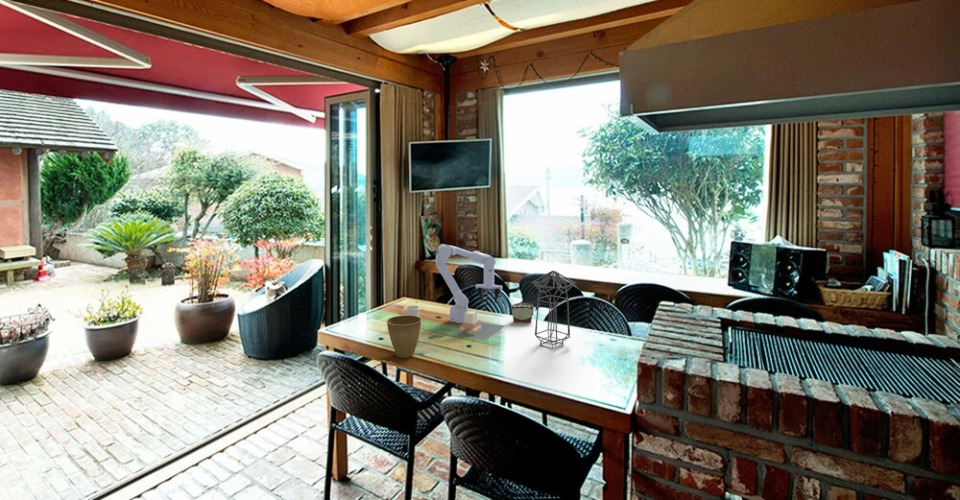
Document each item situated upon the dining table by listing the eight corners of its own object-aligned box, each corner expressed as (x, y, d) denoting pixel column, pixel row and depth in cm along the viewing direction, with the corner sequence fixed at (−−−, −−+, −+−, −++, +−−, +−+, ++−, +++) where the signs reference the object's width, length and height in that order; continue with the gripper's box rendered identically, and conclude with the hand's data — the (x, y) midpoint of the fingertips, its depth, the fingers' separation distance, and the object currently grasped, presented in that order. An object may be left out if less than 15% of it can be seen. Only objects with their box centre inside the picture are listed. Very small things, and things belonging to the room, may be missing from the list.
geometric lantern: (549, 337, 215) (550, 266, 210) (576, 345, 203) (578, 270, 199) (527, 345, 205) (528, 270, 200) (554, 354, 193) (555, 275, 188)
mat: (452, 336, 218) (452, 334, 218) (474, 322, 239) (474, 321, 239) (485, 341, 210) (485, 339, 210) (505, 327, 231) (505, 325, 231)
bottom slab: (460, 332, 220) (460, 328, 220) (467, 328, 228) (467, 323, 227) (474, 335, 217) (474, 330, 217) (481, 330, 224) (481, 325, 224)
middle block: (462, 327, 221) (462, 322, 220) (468, 324, 226) (468, 319, 226) (473, 329, 218) (473, 324, 218) (478, 325, 223) (478, 321, 223)
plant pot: (421, 360, 187) (420, 324, 185) (385, 362, 186) (384, 325, 184) (423, 348, 202) (422, 314, 200) (390, 349, 201) (389, 315, 199)
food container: (533, 320, 242) (533, 303, 241) (533, 324, 236) (534, 305, 235) (511, 320, 244) (511, 302, 242) (510, 323, 238) (510, 305, 236)
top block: (464, 322, 221) (464, 313, 220) (468, 320, 225) (468, 310, 224) (472, 323, 219) (472, 314, 218) (476, 321, 223) (476, 311, 222)
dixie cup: (421, 323, 239) (421, 305, 238) (418, 328, 231) (417, 309, 229) (406, 323, 240) (406, 305, 238) (402, 328, 232) (402, 309, 230)
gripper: (474, 278, 239) (474, 302, 241) (500, 279, 235) (500, 304, 237) (477, 275, 246) (478, 299, 248) (503, 276, 242) (503, 301, 244)
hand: (489, 301), depth 243 cm, fingers open, 7 cm apart
